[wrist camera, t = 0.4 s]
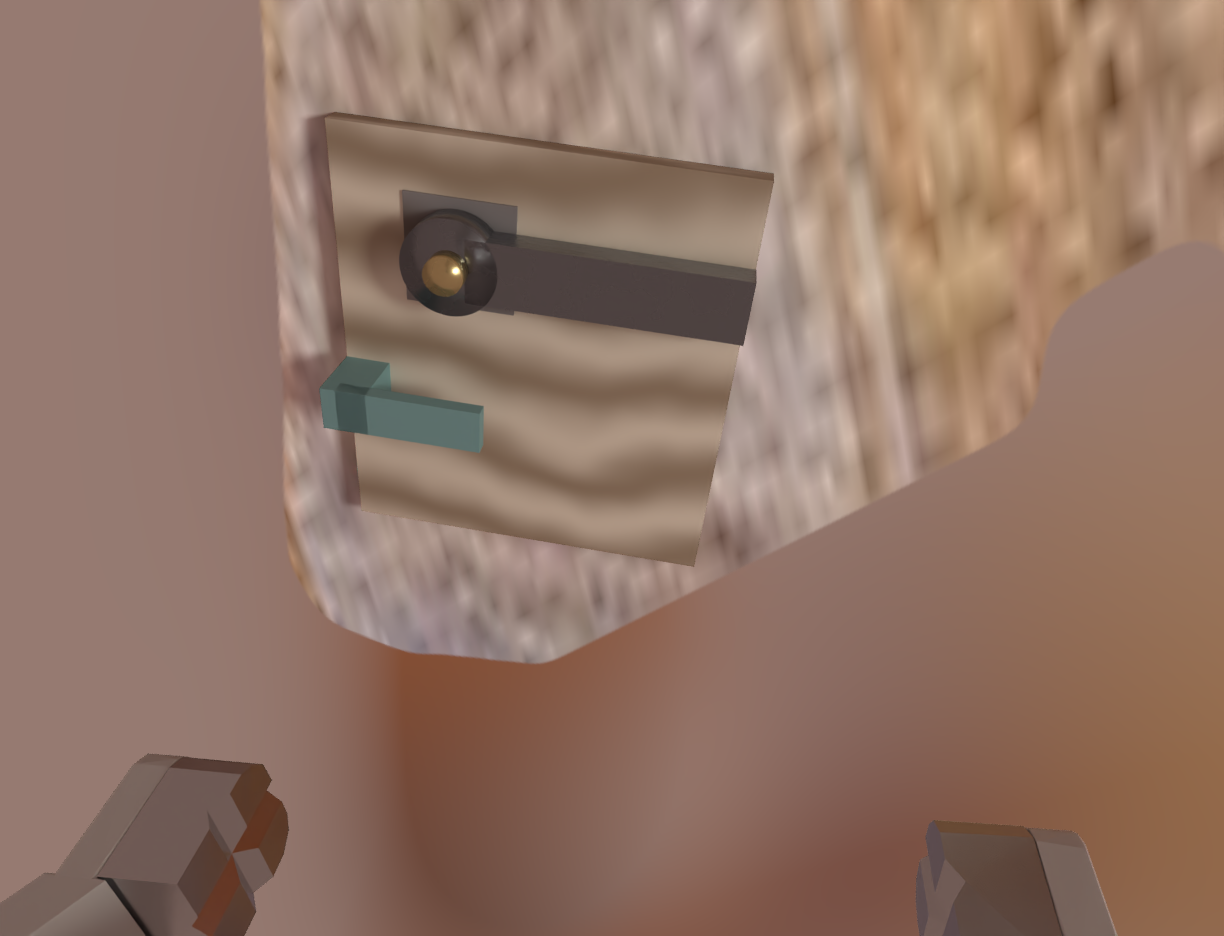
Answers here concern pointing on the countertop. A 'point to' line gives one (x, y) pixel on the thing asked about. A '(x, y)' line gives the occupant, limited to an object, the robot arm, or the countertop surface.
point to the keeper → (396, 409)
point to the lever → (571, 280)
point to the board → (541, 337)
